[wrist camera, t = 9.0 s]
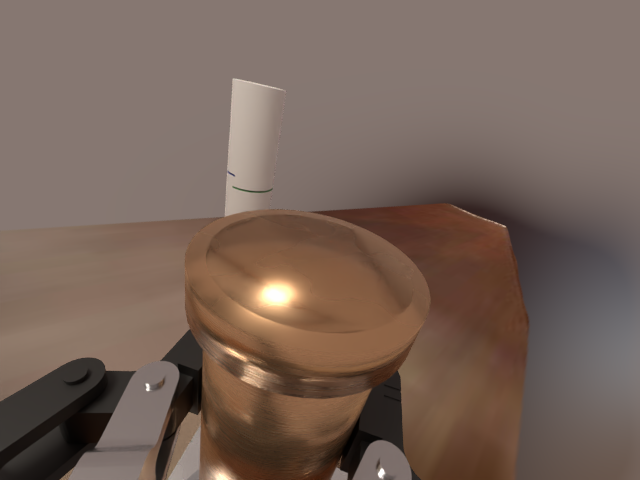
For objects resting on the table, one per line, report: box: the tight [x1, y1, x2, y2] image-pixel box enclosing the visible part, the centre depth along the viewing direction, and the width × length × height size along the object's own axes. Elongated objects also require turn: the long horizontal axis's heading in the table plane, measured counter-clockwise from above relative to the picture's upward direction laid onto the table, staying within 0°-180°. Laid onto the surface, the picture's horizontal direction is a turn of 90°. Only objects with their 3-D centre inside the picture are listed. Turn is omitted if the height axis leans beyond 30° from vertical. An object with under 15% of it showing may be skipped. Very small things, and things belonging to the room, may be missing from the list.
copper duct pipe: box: [185, 209, 431, 480], centre depth 10 cm, size 6×6×12 cm
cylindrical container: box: [225, 78, 286, 217], centre depth 44 cm, size 7×7×25 cm
